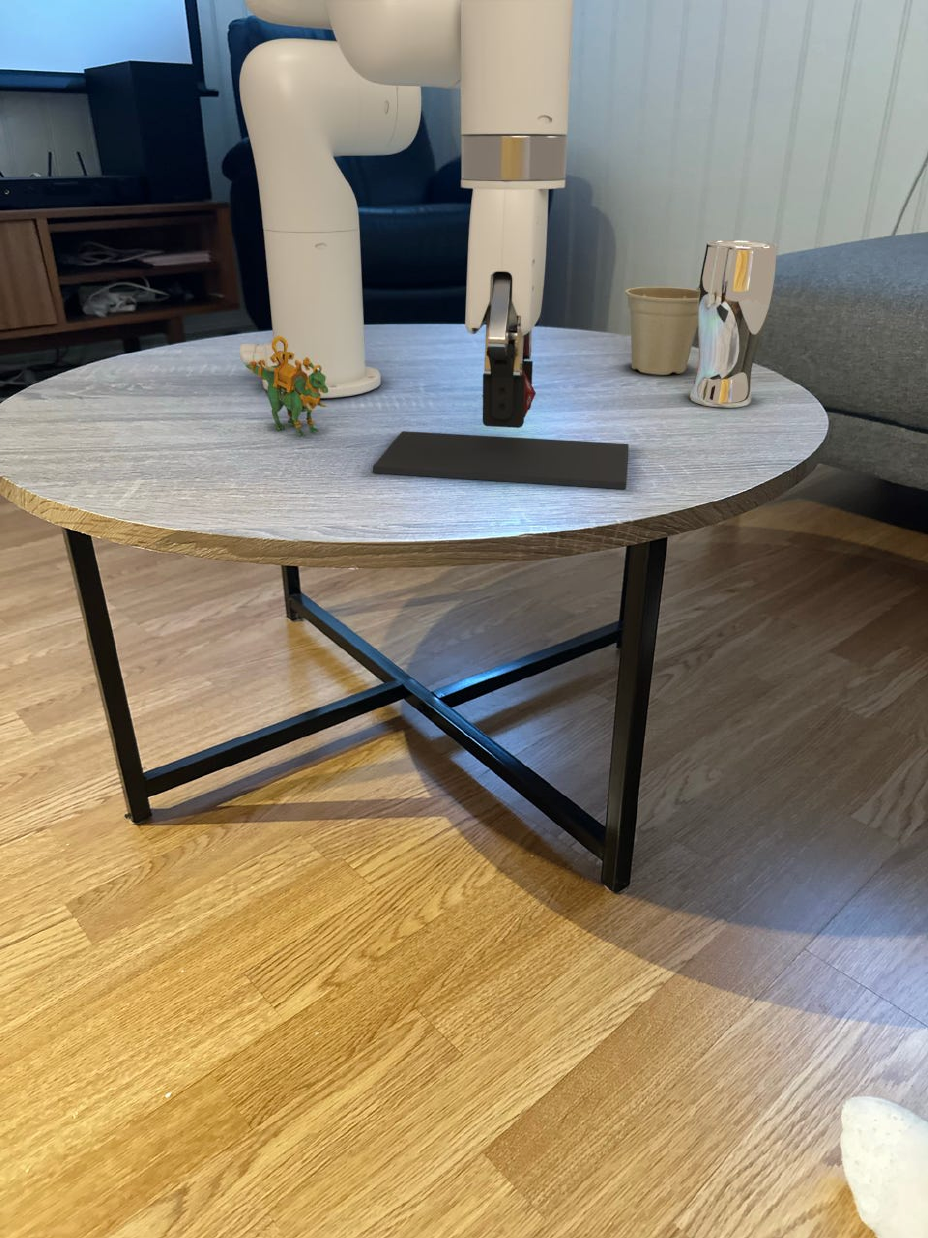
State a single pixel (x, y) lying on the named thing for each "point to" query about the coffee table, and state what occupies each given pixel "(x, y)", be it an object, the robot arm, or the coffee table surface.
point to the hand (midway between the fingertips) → (507, 415)
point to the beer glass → (731, 319)
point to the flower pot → (662, 328)
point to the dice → (527, 394)
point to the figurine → (291, 386)
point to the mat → (507, 459)
